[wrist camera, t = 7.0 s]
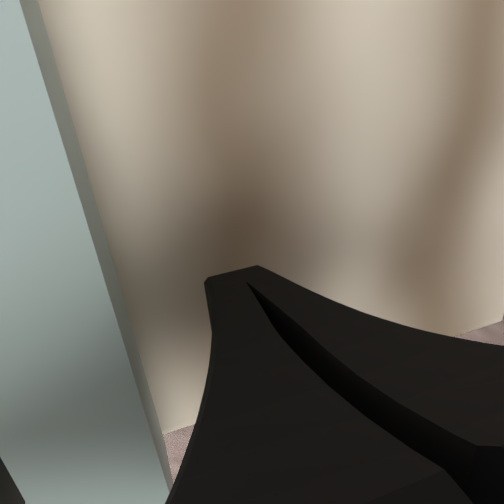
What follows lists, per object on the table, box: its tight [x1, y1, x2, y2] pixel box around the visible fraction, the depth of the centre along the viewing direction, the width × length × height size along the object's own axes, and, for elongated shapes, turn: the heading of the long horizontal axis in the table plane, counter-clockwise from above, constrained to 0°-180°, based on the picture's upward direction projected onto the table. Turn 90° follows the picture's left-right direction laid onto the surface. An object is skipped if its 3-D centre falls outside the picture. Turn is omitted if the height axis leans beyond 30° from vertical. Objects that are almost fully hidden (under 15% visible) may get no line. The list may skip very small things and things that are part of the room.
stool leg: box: [0, 0, 173, 504], centre depth 8 cm, size 13×2×3 cm, turn 6°
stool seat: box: [0, 0, 504, 504], centre depth 10 cm, size 18×14×5 cm
